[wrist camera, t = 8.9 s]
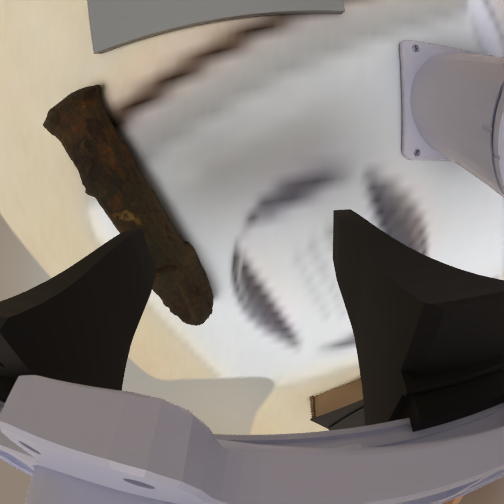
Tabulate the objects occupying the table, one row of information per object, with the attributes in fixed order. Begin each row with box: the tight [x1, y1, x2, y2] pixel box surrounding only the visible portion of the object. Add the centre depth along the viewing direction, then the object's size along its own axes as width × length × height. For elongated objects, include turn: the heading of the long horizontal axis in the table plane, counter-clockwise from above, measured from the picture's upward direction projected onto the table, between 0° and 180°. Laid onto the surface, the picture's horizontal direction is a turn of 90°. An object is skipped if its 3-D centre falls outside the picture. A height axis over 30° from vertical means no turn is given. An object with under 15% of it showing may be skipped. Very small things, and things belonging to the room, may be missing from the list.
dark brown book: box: [309, 353, 504, 431], centre depth 31 cm, size 33×4×24 cm
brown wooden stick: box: [43, 85, 213, 326], centre depth 19 cm, size 19×4×5 cm, turn 23°
